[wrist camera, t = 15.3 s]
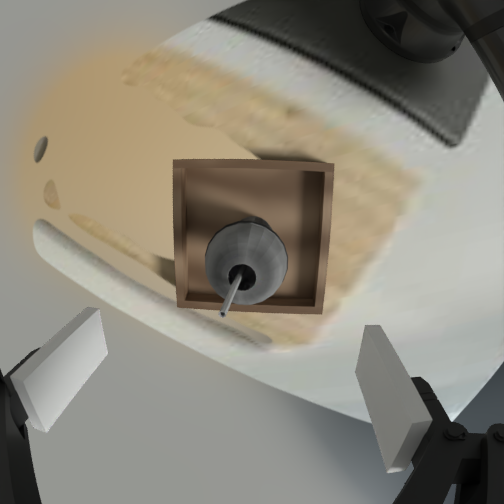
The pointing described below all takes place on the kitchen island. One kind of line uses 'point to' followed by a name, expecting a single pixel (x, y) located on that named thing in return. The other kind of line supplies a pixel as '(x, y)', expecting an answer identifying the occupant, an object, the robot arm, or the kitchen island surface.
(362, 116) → the kitchen island surface
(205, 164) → the serving tray
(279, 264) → the beverage cup
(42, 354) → the robot arm
